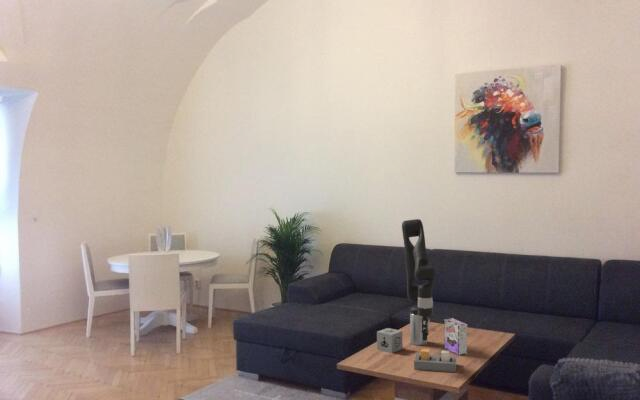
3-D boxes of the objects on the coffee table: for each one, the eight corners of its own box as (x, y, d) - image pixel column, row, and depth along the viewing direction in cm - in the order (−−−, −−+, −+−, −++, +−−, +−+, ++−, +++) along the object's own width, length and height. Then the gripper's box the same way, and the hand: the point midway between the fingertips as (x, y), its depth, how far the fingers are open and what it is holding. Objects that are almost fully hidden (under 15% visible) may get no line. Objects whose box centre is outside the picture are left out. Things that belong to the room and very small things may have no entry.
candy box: (443, 348, 320) (443, 318, 319) (453, 347, 322) (452, 317, 321) (458, 355, 307) (458, 324, 306) (467, 354, 309) (467, 323, 308)
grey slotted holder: (416, 361, 298) (416, 346, 298) (456, 364, 293) (456, 348, 293) (414, 369, 287) (414, 353, 286) (455, 372, 281) (455, 355, 281)
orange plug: (421, 362, 293) (421, 349, 293) (429, 363, 292) (429, 349, 292) (421, 365, 289) (420, 351, 289) (429, 365, 288) (429, 351, 288)
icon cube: (387, 345, 327) (387, 328, 326) (402, 348, 320) (402, 331, 320) (377, 349, 320) (376, 331, 319) (391, 353, 313) (391, 334, 312)
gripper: (418, 302, 297) (419, 333, 298) (416, 308, 284) (416, 341, 285) (433, 302, 296) (434, 334, 296) (431, 309, 282) (432, 342, 283)
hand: (425, 337), depth 290 cm, fingers open, 8 cm apart
